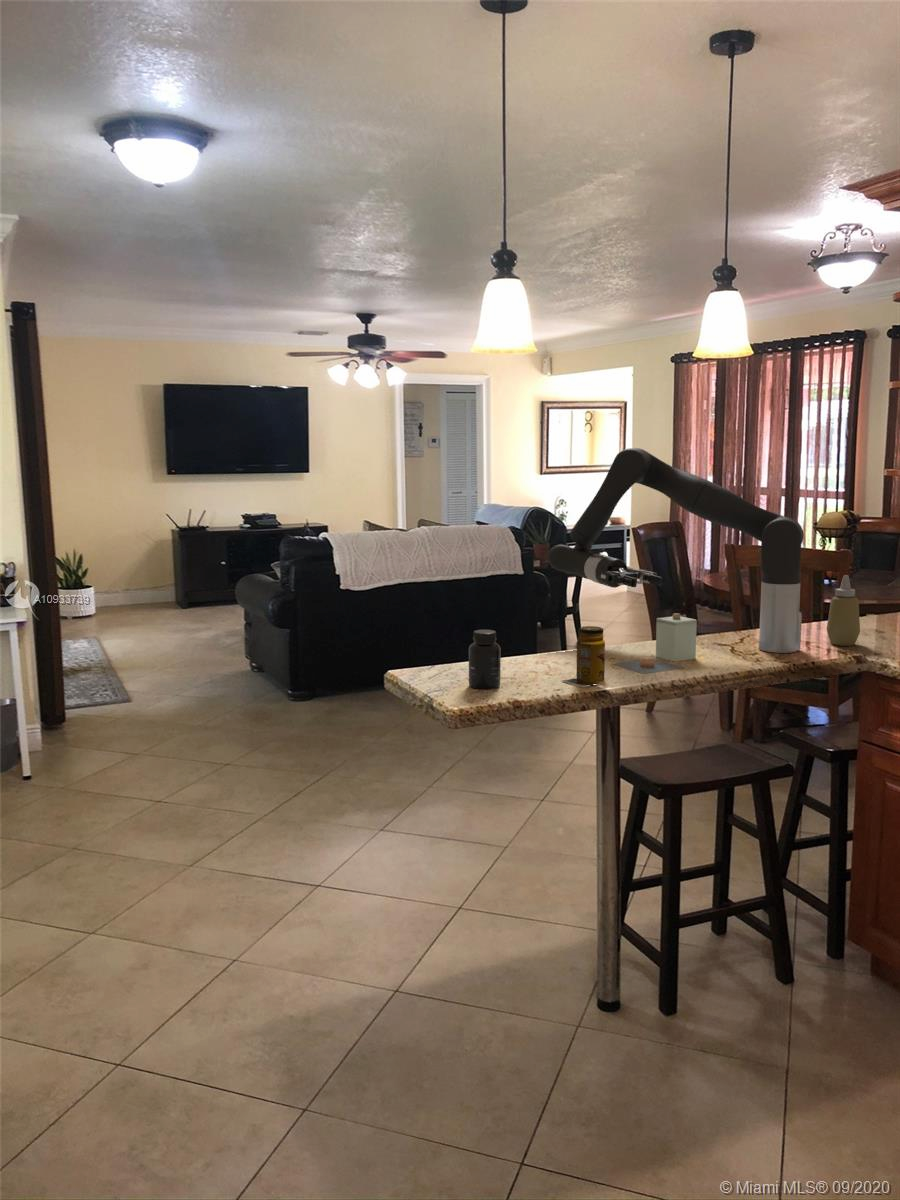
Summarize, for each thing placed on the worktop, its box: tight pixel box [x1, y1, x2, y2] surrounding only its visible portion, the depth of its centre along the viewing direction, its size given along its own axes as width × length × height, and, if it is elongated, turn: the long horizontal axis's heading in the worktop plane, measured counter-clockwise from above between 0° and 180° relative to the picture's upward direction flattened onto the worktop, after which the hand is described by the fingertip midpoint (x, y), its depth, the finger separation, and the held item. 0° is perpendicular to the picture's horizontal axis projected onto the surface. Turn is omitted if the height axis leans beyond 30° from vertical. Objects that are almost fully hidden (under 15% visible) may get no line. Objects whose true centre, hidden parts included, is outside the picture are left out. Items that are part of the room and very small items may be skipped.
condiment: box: [560, 625, 606, 688], centre depth 195 cm, size 7×8×12 cm
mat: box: [611, 659, 684, 675], centre depth 209 cm, size 12×12×1 cm
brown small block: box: [639, 656, 656, 667], centre depth 208 cm, size 3×3×2 cm
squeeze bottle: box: [826, 574, 861, 647], centre depth 233 cm, size 8×8×18 cm
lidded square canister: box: [655, 612, 698, 662], centre depth 217 cm, size 7×7×11 cm
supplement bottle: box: [468, 629, 502, 691], centre depth 193 cm, size 7×7×12 cm
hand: (648, 582), depth 223 cm, fingers open, 8 cm apart
